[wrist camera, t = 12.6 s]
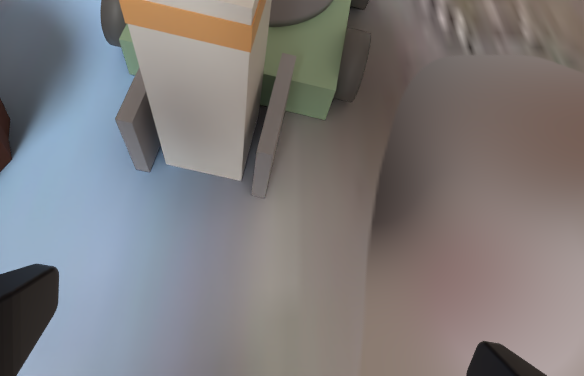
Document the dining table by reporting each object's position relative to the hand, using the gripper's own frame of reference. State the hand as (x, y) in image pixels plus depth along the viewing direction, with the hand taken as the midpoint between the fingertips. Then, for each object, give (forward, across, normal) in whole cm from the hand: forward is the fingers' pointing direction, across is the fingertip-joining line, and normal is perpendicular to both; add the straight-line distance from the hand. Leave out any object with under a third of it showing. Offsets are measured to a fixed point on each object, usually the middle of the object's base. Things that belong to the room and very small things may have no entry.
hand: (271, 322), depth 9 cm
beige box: (+18, +4, 0) cm, 18 cm away
